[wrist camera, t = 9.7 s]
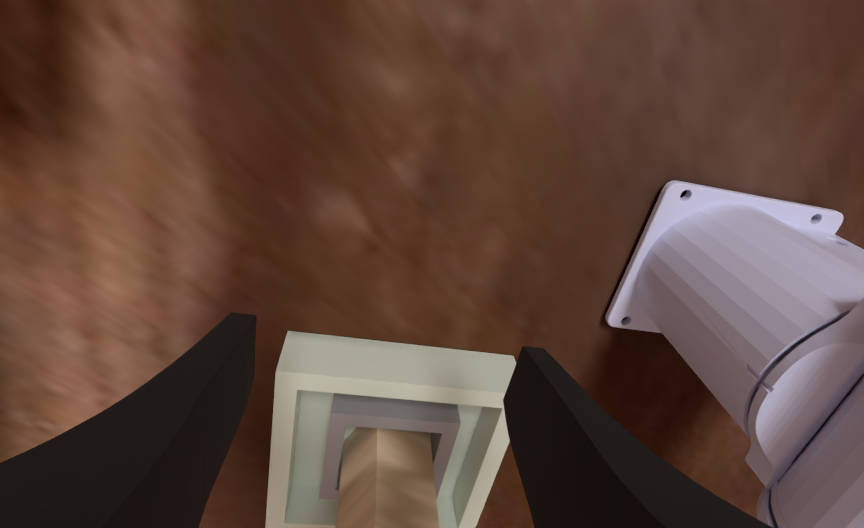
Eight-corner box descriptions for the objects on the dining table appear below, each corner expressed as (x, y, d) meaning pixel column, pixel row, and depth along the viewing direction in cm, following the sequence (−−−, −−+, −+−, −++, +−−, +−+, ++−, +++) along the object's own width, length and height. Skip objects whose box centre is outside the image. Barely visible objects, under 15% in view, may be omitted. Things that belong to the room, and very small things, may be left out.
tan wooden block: (429, 427, 27) (441, 549, 21) (394, 462, 29) (396, 588, 22) (378, 403, 26) (375, 525, 20) (343, 441, 27) (331, 568, 21)
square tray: (513, 355, 26) (527, 395, 24) (462, 497, 32) (469, 541, 29) (287, 330, 24) (275, 370, 22) (275, 486, 30) (265, 533, 27)
